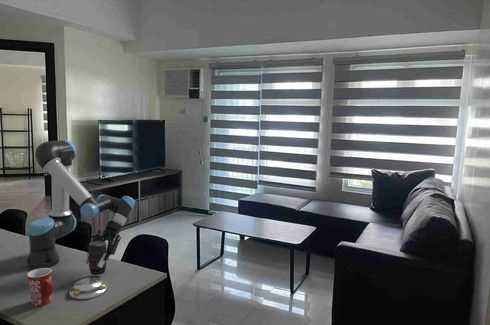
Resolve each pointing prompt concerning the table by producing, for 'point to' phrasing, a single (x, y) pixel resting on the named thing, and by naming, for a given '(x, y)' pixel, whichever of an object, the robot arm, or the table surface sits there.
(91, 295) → the base
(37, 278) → the mug
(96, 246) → the camera lens
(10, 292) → the table surface
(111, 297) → the table surface
